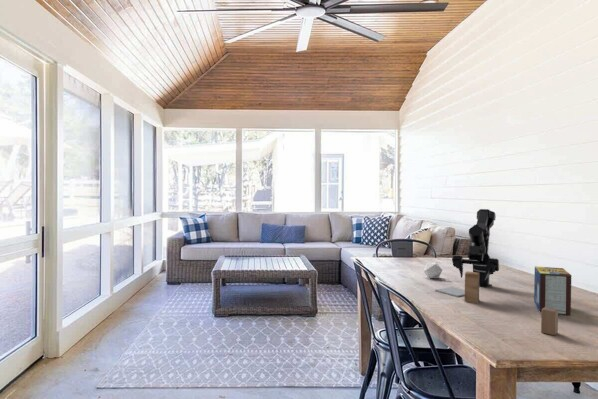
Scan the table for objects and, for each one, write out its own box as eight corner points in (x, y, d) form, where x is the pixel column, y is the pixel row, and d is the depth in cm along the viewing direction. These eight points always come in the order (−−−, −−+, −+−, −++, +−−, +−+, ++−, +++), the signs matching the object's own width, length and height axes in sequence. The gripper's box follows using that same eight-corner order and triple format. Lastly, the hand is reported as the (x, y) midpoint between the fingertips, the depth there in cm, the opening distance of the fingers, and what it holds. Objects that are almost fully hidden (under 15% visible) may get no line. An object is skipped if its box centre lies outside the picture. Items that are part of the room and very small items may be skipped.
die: (439, 281, 206) (447, 265, 209) (423, 272, 207) (431, 256, 210) (433, 284, 214) (441, 268, 217) (418, 275, 215) (426, 259, 218)
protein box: (562, 305, 162) (563, 267, 162) (571, 316, 148) (572, 275, 148) (533, 302, 166) (534, 265, 166) (538, 312, 152) (539, 272, 152)
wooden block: (544, 329, 132) (544, 306, 132) (558, 333, 129) (558, 309, 129) (540, 332, 130) (541, 308, 129) (554, 336, 127) (555, 311, 127)
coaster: (452, 287, 190) (452, 286, 190) (474, 293, 180) (474, 292, 180) (435, 291, 184) (435, 289, 184) (457, 297, 173) (457, 295, 173)
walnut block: (466, 298, 171) (466, 271, 171) (479, 300, 168) (479, 272, 168) (464, 301, 167) (465, 273, 166) (477, 303, 164) (477, 274, 164)
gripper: (453, 237, 178) (447, 265, 169) (498, 240, 168) (495, 269, 159) (456, 252, 185) (451, 279, 176) (500, 256, 175) (497, 285, 166)
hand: (472, 278), depth 169 cm, fingers open, 9 cm apart
